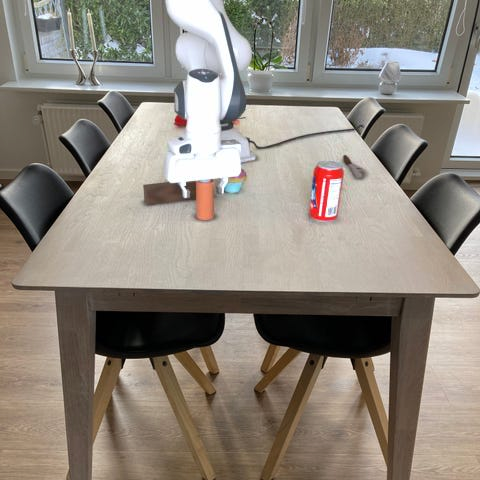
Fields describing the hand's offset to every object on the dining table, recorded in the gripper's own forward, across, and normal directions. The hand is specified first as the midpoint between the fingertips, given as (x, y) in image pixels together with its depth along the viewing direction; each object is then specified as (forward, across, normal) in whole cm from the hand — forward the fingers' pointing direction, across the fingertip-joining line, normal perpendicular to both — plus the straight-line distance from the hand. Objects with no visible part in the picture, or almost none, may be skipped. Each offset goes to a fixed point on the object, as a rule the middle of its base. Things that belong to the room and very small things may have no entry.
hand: (203, 195), depth 138 cm
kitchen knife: (+6, -64, -22) cm, 67 cm away
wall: (+6, +2, -14) cm, 16 cm away
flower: (+5, -35, -85) cm, 92 cm away
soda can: (+6, -31, +12) cm, 33 cm away
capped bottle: (+6, 0, 0) cm, 6 cm away
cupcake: (+6, -15, -16) cm, 23 cm away
